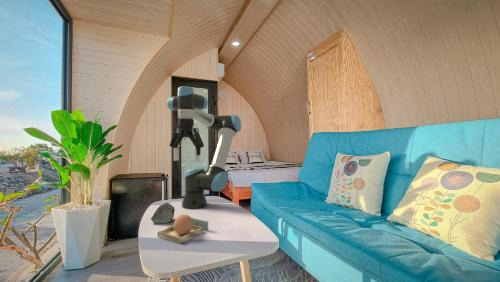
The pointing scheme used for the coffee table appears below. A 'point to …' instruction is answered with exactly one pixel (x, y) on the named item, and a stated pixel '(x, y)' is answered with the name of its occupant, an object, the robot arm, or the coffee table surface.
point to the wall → (201, 223)
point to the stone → (163, 214)
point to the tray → (174, 236)
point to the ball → (183, 224)
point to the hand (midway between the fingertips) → (186, 161)
